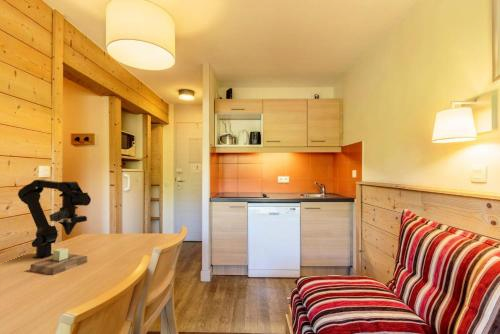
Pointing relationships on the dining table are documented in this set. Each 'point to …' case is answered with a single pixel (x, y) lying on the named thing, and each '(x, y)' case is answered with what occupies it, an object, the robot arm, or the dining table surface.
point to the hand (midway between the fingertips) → (67, 234)
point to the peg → (60, 255)
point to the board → (58, 264)
